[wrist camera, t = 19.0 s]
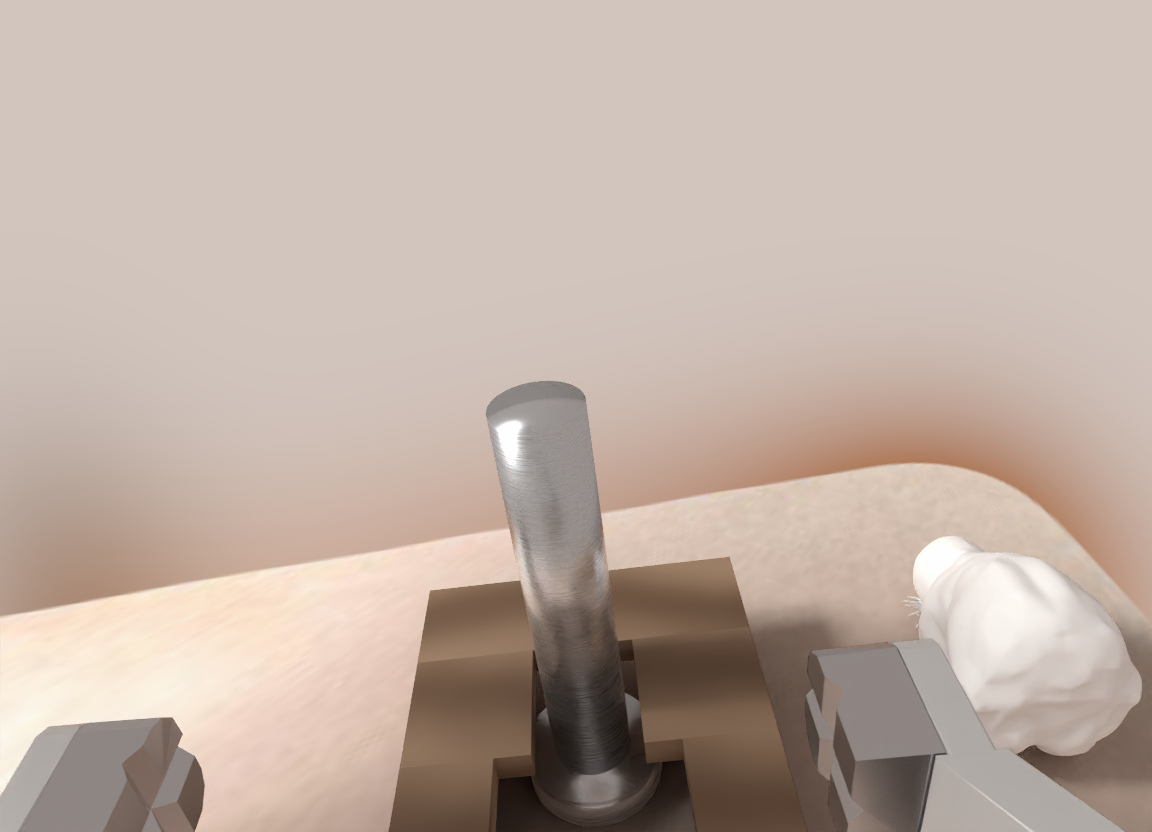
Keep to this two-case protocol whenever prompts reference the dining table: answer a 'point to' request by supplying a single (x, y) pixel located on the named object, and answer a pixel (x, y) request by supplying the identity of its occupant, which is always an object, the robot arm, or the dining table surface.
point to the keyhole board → (665, 686)
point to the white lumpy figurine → (1025, 647)
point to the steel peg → (569, 608)
